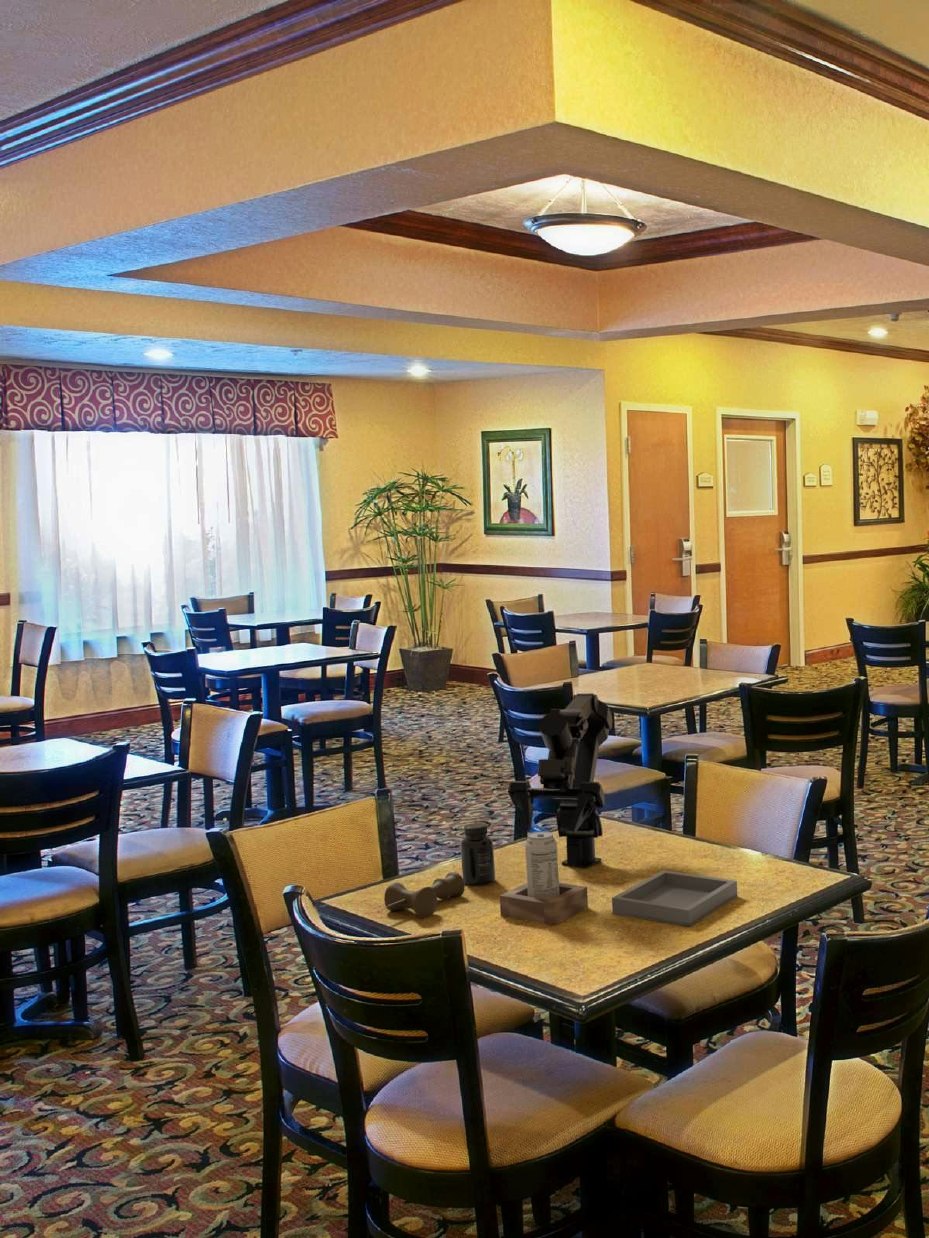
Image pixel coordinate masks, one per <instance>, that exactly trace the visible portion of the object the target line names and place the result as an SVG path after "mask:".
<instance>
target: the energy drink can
mask: <svg viewBox="0 0 929 1238" xmlns="http://www.w3.org/2000/svg"><path fill="white" fill-rule="evenodd" d="M524 848H525V864H526V865H525V866H526V868H525V869H526V883H527V888H528V896H529V897H534V898H540V899H546V900H551V899H553V898H555V897H557V896H559V883H560V879H559V877H560V875H559V859H558V843H557V840H556V839H555V837H554V833H553V832H550V831H543V830H541V831H533V832H529V833H528V834H527V839H526V841H525V843H524Z"/></svg>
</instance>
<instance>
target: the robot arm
mask: <svg viewBox="0 0 929 1238" xmlns="http://www.w3.org/2000/svg"><path fill="white" fill-rule="evenodd" d="M549 711H550V712H549V713H548V714H545V715H544V716H543V717H542V718H541V719H540V721H538V730H539V732H540V734H541V737H542V741H543V743H544V745H545V748H546V749H548V754H547V758H545V759H542V758H540V759H538V764H537V766H538V767H537V776H538V777H540V778H539V782H540V783H539V784H540V785H542V787H532V786H531V784H530V781H529V780H527V781H526V780H513V781H511V782H509V784H508V788H507V794H508V796H509V798H510V800H511V802H512V804H513V806H515V807H517V808H518V809H519V810H522V811H523V812H522V813H523V817H524V818H523V819H524V822H525V829H526V832H528V833H531V832H530V831H531V828H532V822H533V815H534V806H533V805H534V800H535V799H554V800H558V799H559V800H560V804H559V808H557V810H556V816H555V817H556V825H557V826H556V827H557V832H558V834H557V835H558V837H559V838H562V837H564V838H565V839H566V845H565V848H566V859H565V860H563V861H561V865H564V866H572V867H576V868H581V869H582V868H584V869H587V868H589V867H591V866H594V865H596V864H598V863H600V862H602V858H600V857H596V846H595V845H596V844H595V843H596V842H595V839H598V838H599V837H603V825H602V821H601V816H600V815H599V811H598V809H602V808H604V807H605V801H606V798H605V793H604V790H603V787H602V784H601V783H600V782H598V781H595V776H596V775H595V774H596V770H597V764H598V763H597V762H598V755H599V749H600V746H601V745H602V744H603V743H605V742H606V740H608V738H609V732H610V730H612V728H613V715H612V712H611V710H610V707H609V705H608V704H606V703H604V702H603V701H601V699H599V697H598V695H597V694H594V693H590V692H589V693H577V694H573V698H572V700H571V701H570V703H569V704H568V705H567V706H566V707H565V708H564V709H561V708H551V709H550V710H549ZM575 740H578V743H577V742H576V741H575Z"/></svg>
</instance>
